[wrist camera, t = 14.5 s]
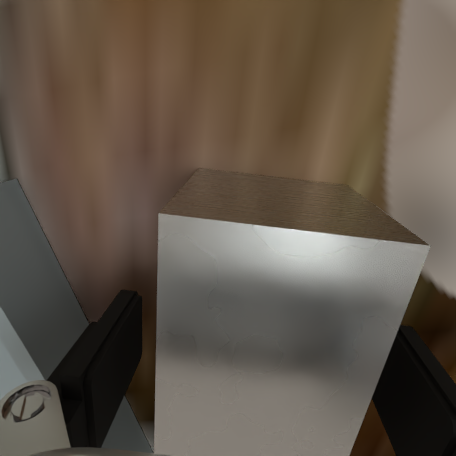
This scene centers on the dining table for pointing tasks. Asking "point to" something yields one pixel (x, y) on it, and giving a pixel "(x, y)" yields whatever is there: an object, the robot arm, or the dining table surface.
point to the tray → (41, 311)
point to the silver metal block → (274, 314)
